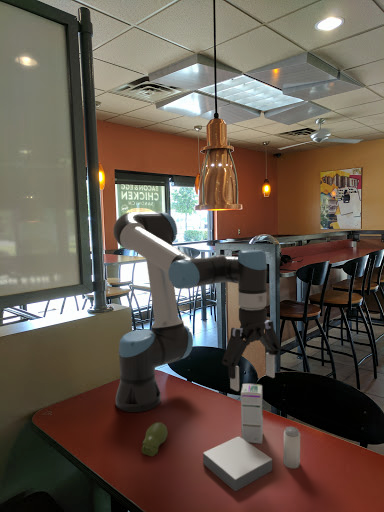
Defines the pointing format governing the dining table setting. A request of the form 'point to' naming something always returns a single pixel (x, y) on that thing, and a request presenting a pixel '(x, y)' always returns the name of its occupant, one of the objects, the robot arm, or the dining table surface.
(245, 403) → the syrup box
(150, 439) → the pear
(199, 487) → the dining table surface
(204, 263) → the robot arm
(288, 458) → the shaker
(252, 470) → the riser
